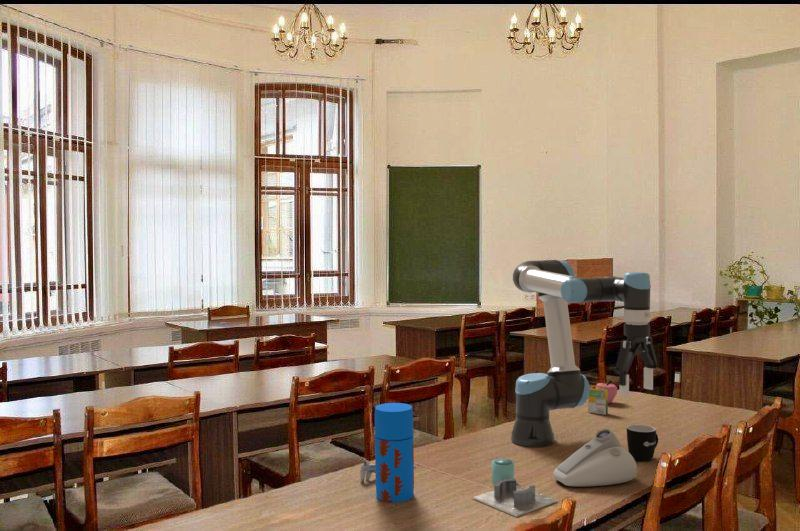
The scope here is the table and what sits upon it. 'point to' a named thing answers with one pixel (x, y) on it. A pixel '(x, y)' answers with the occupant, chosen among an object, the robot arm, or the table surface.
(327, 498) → the table surface
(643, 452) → the mug
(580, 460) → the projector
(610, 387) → the apple
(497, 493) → the cradle fixture plate
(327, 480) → the table surface
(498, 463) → the cap
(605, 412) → the crayon box
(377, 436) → the thermos
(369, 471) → the caliper
